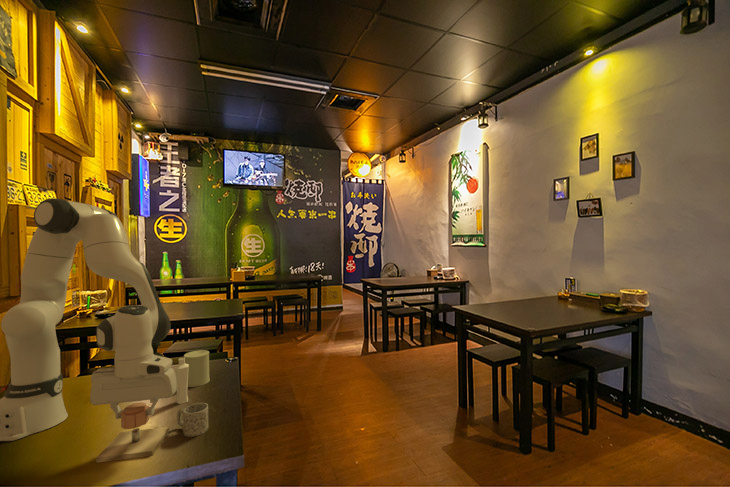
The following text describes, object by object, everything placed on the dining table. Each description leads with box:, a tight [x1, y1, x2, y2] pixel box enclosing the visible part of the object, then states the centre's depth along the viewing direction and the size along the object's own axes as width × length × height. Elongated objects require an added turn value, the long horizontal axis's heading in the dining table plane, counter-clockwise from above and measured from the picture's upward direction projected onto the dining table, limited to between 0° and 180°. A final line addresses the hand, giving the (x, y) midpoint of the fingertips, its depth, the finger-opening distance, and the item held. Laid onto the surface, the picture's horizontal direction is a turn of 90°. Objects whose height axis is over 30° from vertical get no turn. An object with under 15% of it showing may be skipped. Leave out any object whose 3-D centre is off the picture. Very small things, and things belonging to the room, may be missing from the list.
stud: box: [131, 427, 140, 443], centre depth 93 cm, size 2×2×3 cm
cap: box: [120, 401, 150, 430], centre depth 93 cm, size 6×6×4 cm
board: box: [95, 426, 171, 464], centre depth 93 cm, size 13×12×1 cm
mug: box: [176, 402, 209, 438], centre depth 100 cm, size 10×7×7 cm, turn 73°
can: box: [183, 349, 211, 388], centre depth 136 cm, size 9×9×12 cm
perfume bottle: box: [173, 357, 189, 405], centre depth 119 cm, size 5×4×15 cm
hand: (135, 416), depth 93 cm, fingers closed on cap, 6 cm apart
